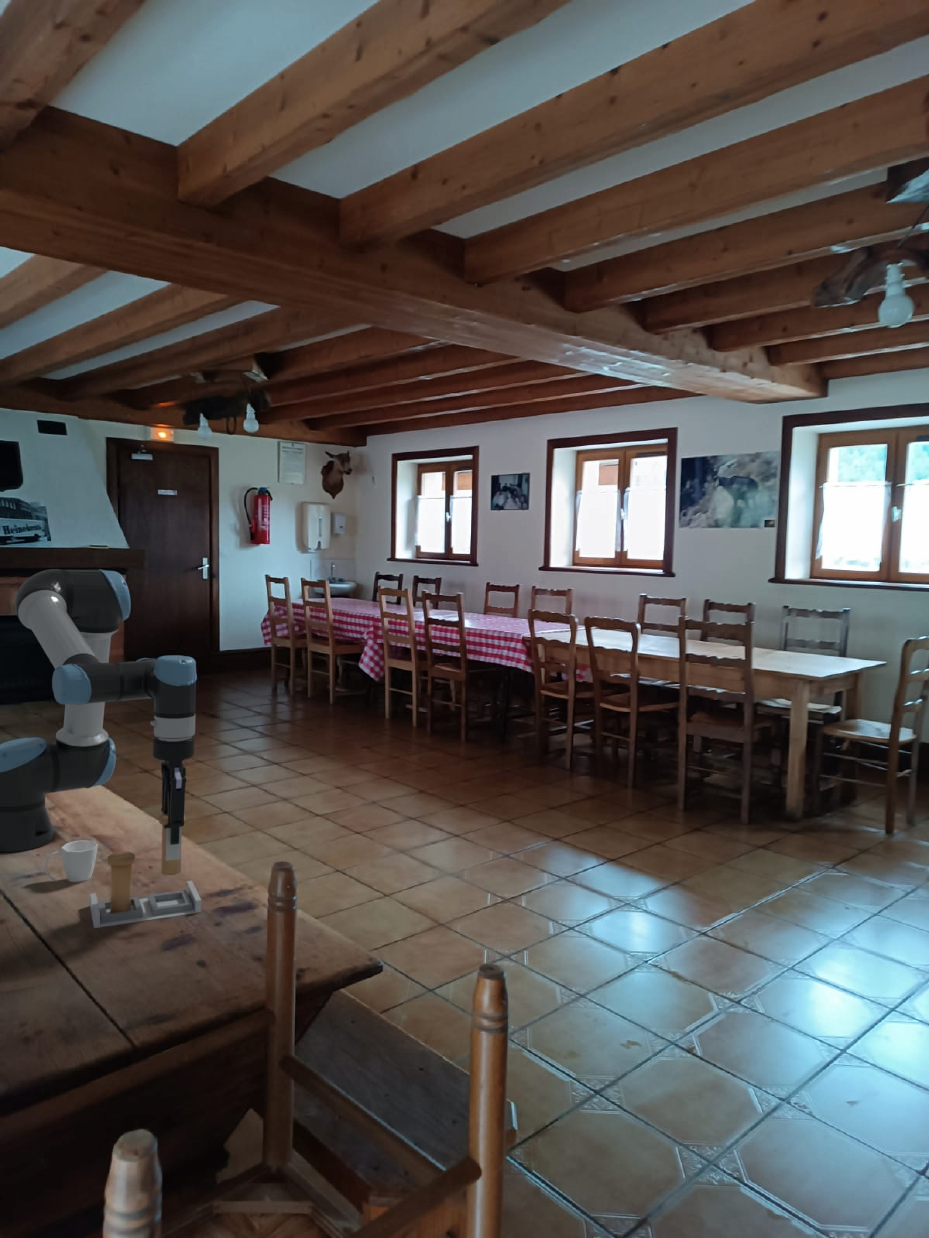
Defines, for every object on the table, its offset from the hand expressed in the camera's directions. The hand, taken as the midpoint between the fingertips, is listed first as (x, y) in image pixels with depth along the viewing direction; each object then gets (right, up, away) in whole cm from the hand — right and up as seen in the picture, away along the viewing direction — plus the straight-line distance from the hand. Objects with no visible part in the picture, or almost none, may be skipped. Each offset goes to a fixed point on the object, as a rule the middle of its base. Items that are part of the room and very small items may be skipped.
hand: (171, 855), depth 165 cm
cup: (-25, -9, +11) cm, 29 cm away
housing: (-5, -11, -1) cm, 12 cm away
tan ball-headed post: (0, -3, 0) cm, 3 cm away
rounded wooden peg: (-9, -10, -3) cm, 14 cm away
